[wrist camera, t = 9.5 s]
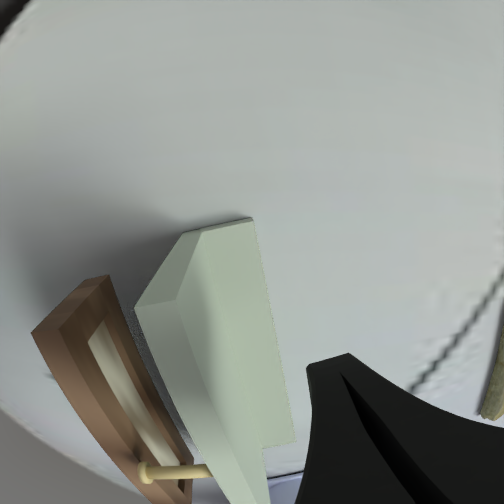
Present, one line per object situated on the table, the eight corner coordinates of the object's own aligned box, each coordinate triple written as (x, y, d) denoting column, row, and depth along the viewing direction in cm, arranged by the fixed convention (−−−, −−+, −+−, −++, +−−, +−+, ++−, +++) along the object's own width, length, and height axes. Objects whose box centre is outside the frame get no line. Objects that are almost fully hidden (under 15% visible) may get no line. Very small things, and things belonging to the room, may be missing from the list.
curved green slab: (293, 431, 22) (319, 530, 13) (203, 446, 22) (200, 545, 12) (252, 217, 17) (282, 277, 8) (123, 246, 17) (33, 324, 8)
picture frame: (193, 457, 20) (190, 519, 14) (175, 459, 20) (169, 519, 14) (108, 274, 15) (58, 328, 9) (85, 279, 15) (30, 332, 9)
